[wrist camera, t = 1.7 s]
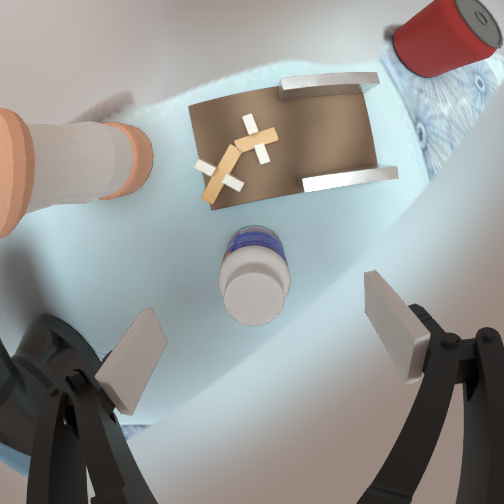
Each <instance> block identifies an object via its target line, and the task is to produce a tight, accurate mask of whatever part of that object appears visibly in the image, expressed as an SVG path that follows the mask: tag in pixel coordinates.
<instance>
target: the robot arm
mask: <svg viewBox="0 0 504 504" xmlns="http://www.w3.org/2000/svg"><path fill="white" fill-rule="evenodd" d="M364 286H365V313H366V315H367V316H368V318H369V320H370V322H371V323H372V325H373V327H374V328H375V330H376V332H377V334H378V335H379V337H380V339H381V341H382V342H383V344H384V346H385V348H386V350H387V351H388V353H389V355H390V357H391V359H392V360H393V362H394V364H395V366H396V368H397V370H398V372H399V373H400V375H401V377H402V379H403V381H404V383H405V385H408V384H411V383H414V382H417V381H419V380H420V378H421V375H422V371H423V373H424V378H423V380H422V384H421V386H420V389H419V391H418V394H417V397H416V399H415V401H414V404H413V406H412V408H411V411H410V413H409V415H408V418H407V420H406V422H405V424H404V426H403V428H402V430H401V432H400V435H399V437H398V439H397V440H396V442H395V444H394V446H393V448H392V450H391V452H390V454H389V455H388V457H387V459H386V461H385V463H384V464H383V466H382V468H381V469H380V471H379V473H378V474H377V476H376V477H375V479H374V480H373V482H372V483H371V485H370V486H369V487H368V488H367V490H366V491H365V492H364V494H363V495H362V497H361V498H360V499H359V501H358V502H357V503H356V504H410V503H411V501H412V496H413V494H414V492H415V490H416V488H417V486H418V484H419V482H420V480H421V478H422V476H423V474H424V472H425V470H426V468H427V465H428V463H429V461H430V458H431V456H432V453H433V451H434V448H435V446H436V443H437V441H438V438H439V435H440V432H441V429H442V427H443V424H444V421H445V418H446V414H447V411H448V408H449V404H450V400H451V397H452V393H453V389H454V385H455V384H460V383H462V384H463V400H464V440H463V456H462V467H461V475H460V482H459V489H458V494H457V500H456V504H504V346H503V343H502V340H501V337H500V334H499V333H498V332H497V331H496V330H495V329H493V328H488V327H485V328H481V329H480V330H478V332H477V334H476V337H475V338H472V339H465V340H461V338H460V337H459V336H458V335H456V334H454V333H446V332H445V331H444V330H443V329H442V328H441V327H440V326H439V324H438V323H437V322H436V321H435V320H434V319H432V317H431V316H430V315H429V314H428V312H427V311H426V310H425V309H424V308H423V307H421V306H419V305H417V304H413V305H409V306H407V305H406V304H405V302H404V301H403V300H402V299H401V298H400V297H399V296H398V294H397V293H396V292H395V291H394V290H393V289H392V288H391V286H390V285H389V284H388V283H387V282H386V281H385V280H384V279H383V278H382V277H381V275H380V274H379V273H378V272H377V271H376V270H375V271H370V272H365V273H364ZM166 344H167V341H166V339H165V336H164V334H163V332H162V329H161V327H160V325H159V322H158V320H157V318H156V315H155V313H154V310H153V308H150V309H143V310H142V311H141V313H140V314H139V315H138V317H137V318H136V319H135V321H134V322H133V323H132V325H131V326H130V327H129V329H128V330H127V331H126V333H125V334H124V335H123V337H122V338H121V340H120V341H119V342H118V344H117V345H116V347H115V348H114V349H113V350H111V351H110V352H109V353H108V354H107V355H106V356H105V357H104V359H103V360H102V362H101V363H100V362H99V360H98V358H97V356H96V355H95V353H94V352H93V350H92V349H91V347H90V346H89V345H88V344H87V342H86V341H85V340H84V339H83V338H82V337H81V336H80V335H79V334H78V333H77V332H76V331H75V330H74V329H73V328H71V327H70V326H69V325H67V324H66V323H65V322H63V321H61V320H60V319H58V318H55V317H53V316H49V315H41V316H38V317H37V318H36V319H35V320H33V321H32V322H31V323H30V324H29V325H28V327H27V328H26V331H25V333H24V335H23V337H22V339H21V341H20V344H19V346H18V348H17V350H16V353H15V354H14V356H13V357H12V358H11V357H10V356H9V354H8V352H7V350H6V348H5V346H4V345H3V343H2V341H1V339H0V460H1V461H2V462H4V463H5V464H6V465H8V466H9V467H10V468H12V469H13V470H15V471H16V472H18V473H20V474H21V475H23V476H27V477H28V486H27V501H26V504H88V495H87V476H86V466H87V469H88V473H89V476H90V479H91V482H92V486H93V489H94V492H95V497H92V498H91V504H158V503H157V501H156V500H155V498H154V496H153V494H152V493H151V491H150V489H149V487H148V485H147V484H146V482H145V480H144V478H143V476H142V474H141V472H140V470H139V468H138V466H137V464H136V462H135V460H134V458H133V455H132V453H131V451H130V449H129V447H128V444H127V442H126V440H125V437H124V435H123V432H122V430H121V427H120V425H119V422H118V419H117V417H116V415H115V413H114V412H113V410H114V408H115V407H116V408H117V409H118V411H119V412H120V413H121V414H126V415H133V413H134V411H135V408H136V406H137V404H138V402H139V400H140V398H141V396H142V393H143V391H144V389H145V387H146V385H147V383H148V381H149V379H150V377H151V375H152V372H153V370H154V368H155V366H156V364H157V362H158V360H159V358H160V356H161V354H162V352H163V350H164V348H165V346H166ZM65 422H66V424H64V423H65Z"/></svg>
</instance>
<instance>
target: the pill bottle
mask: <svg viewBox="0 0 504 504" xmlns="http://www.w3.org/2000/svg"><path fill="white" fill-rule="evenodd" d="M218 285H219V289H220V292H221V294H222V296H223V298H224V305H225V308H226V310H227V312H228V313H229V314H230V316H231V317H232V318H234V319H235V320H237V321H238V322H240V323H242V324H246V325H253V326H256V325H263V324H266V323H268V322H270V321H272V320H273V319H275V318H276V317H277V316H278V315H279V314H280V312H281V310H282V308H283V306H284V301H285V297H286V296H287V294H288V291H289V288H290V273H289V269H288V265H287V262H286V258H285V255H284V251H283V247H282V244H281V242H280V240H279V238H278V237H277V236H276V235H275V234H274V233H273V232H272V231H270V230H268V229H266V228H264V227H260V226H250V227H246V228H243V229H241V230H239V231H238V232H237V233H236V234H235V235H234V236H233V237H232V238H231V240H230V242H229V244H228V247H227V250H226V253H225V256H224V258H223V262H222V265H221V267H220V271H219V275H218Z"/></svg>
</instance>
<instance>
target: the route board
mask: <svg viewBox="0 0 504 504" xmlns="http://www.w3.org/2000/svg"><path fill="white" fill-rule="evenodd" d="M277 90H278V86H277V87H270V88H264V89H259V90H253V91H248V92H243V93H238V94H234V95H229V96H225V97H221V98H217V99H213V100H209V101H205V102H201V103H198V104H194V105H191V106H188V108H189V113H190V118H191V122H192V127H193V132H194V137H195V141H196V146H197V150H198V155H199V159H205V160H207V161H209V162H210V163H212V164H214V165H216V166H218V165H219V163H220V161H221V160H222V158H223V156H224V154H225V152H226V151H227V149H228V147H229V145H230V144H231V145H233V146H235V147H236V145H235V142H234V141H235V140H238V139H240V138H243V137H246V136H249V134H248V131H247V128H246V126H245V123H244V121H243V118H242V117H243V116H245V115H248V114H251V113H252V116H253V118H254V121H255V123H256V126H257V129H258V131H259V132H261V131H264V130H267V129H270V128H273V127H274V129H275V131H276V134H277V136H278V139H279V141H277V142H274V143H271V144H268V145H265V148H266V151H267V154H268V157H269V159H270V162H267V163H264V164H260V162H259V159H258V156H257V154H256V151H255V149H253V150H250V151H247V152H245V153H242V155H241V156H240V158H239V160H238V162H237V163H236V165H235V167H234V169H233V170H232V172H231V174H233V175H235V176H237V177H239V178H241V179H242V180H244V181H246V182H245V184H244V186H243V187H242V189H241V190H240V192H239V191H237V190H235V189H233V188H231V187H229V186H228V185H226V184H225V185H224V187H223V189H222V190H221V192H220V194H219V196H218V198H217V200H216V202H215V203H214V204H213V205H212V204H210V207H211V211H212V210H216V209H221V208H225V207H230V206H235V205H240V204H244V203H249V202H254V201H259V200H264V199H269V198H275V197H280V196H285V195H291V194H296V193H302V192H304V191H303V190H301V189H299V188H298V185H297V180H296V176H302V175H308V174H314V173H321V172H327V171H334V170H341V169H348V168H356V167H364V166H372V165H377V159H376V153H375V147H374V141H373V136H372V131H371V126H370V121H369V117H368V112H367V108H366V104H365V100H364V96H363V94H344V95H330V96H319V97H310V98H301V99H294V100H286V101H279V97H278V93H277ZM202 173H203V172H202ZM203 177H204V181H205V186H206V187H207V185H208V184H209V182H210V180H211V178H212V176H209V175H207V174H205V173H203Z"/></svg>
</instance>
